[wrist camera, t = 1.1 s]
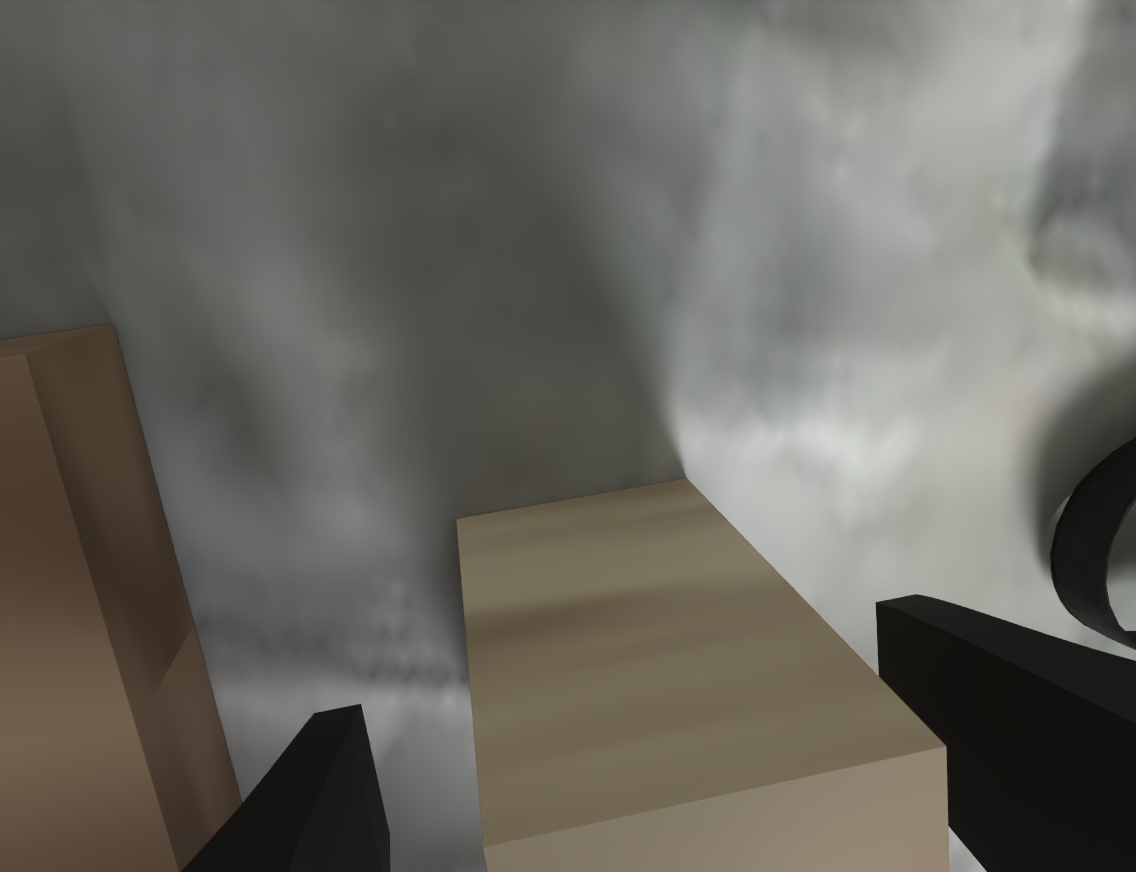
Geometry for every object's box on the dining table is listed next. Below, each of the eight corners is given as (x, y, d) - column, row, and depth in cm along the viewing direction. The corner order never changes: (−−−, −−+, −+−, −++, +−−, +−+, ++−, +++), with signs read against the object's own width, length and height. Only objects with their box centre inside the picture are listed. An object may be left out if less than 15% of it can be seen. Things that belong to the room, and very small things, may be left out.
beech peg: (708, 682, 16) (954, 1101, 9) (493, 727, 16) (551, 1209, 8) (686, 477, 15) (945, 745, 8) (455, 519, 15) (483, 846, 7)
